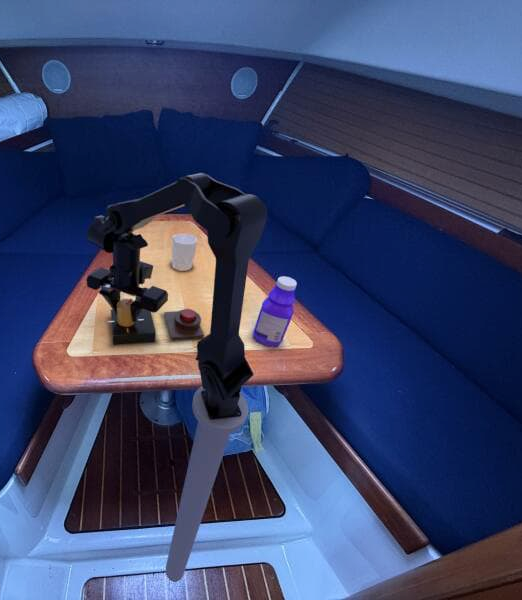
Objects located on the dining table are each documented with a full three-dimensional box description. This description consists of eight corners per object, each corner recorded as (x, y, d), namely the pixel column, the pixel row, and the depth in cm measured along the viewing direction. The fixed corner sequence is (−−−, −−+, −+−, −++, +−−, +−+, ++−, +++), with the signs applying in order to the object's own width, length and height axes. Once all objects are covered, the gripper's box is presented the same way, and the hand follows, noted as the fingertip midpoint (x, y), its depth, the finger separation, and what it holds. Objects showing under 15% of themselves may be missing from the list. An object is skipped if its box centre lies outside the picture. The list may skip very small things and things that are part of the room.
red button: (196, 322, 80) (197, 317, 79) (182, 323, 79) (183, 317, 78) (192, 313, 82) (193, 308, 81) (179, 314, 82) (179, 309, 81)
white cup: (165, 265, 108) (167, 238, 102) (180, 258, 112) (183, 231, 107) (183, 274, 103) (186, 246, 98) (198, 266, 108) (202, 239, 103)
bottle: (283, 337, 81) (305, 279, 71) (280, 351, 77) (303, 291, 67) (254, 328, 83) (272, 270, 73) (249, 341, 79) (268, 281, 69)
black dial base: (155, 342, 77) (155, 332, 75) (109, 345, 75) (109, 335, 73) (149, 316, 85) (149, 306, 83) (107, 318, 83) (107, 309, 81)
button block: (204, 338, 79) (205, 329, 77) (171, 341, 77) (172, 331, 76) (193, 313, 87) (195, 304, 85) (164, 315, 85) (164, 306, 84)
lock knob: (128, 329, 75) (128, 311, 72) (113, 322, 77) (113, 304, 74) (138, 319, 78) (139, 301, 75) (123, 313, 80) (123, 295, 77)
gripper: (182, 258, 71) (175, 313, 80) (113, 236, 77) (114, 290, 86) (157, 280, 62) (153, 339, 71) (82, 254, 69) (87, 311, 78)
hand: (126, 317), depth 77 cm, fingers closed on lock knob, 4 cm apart
